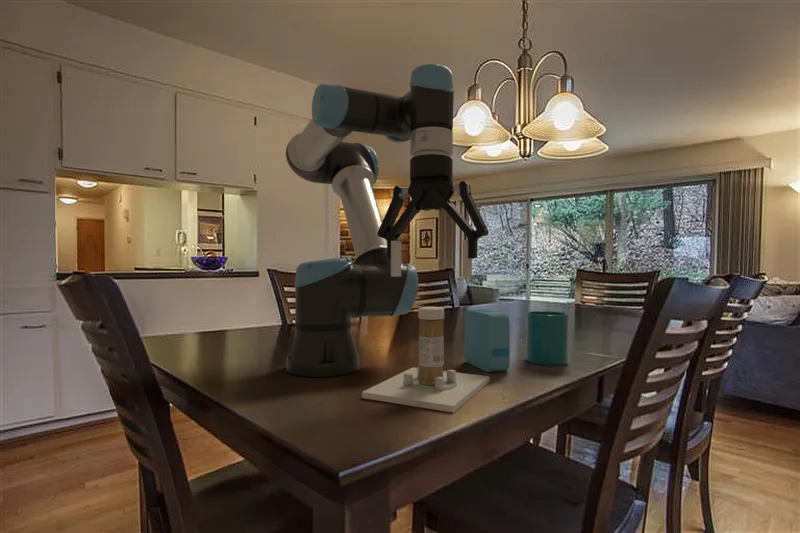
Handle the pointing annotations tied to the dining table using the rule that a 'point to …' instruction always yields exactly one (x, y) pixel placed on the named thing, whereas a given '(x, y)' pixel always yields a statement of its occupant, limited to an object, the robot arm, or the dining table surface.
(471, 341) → the data package
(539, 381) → the dining table surface
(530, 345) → the cup
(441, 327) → the sprinkles bottle
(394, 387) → the pin tray
